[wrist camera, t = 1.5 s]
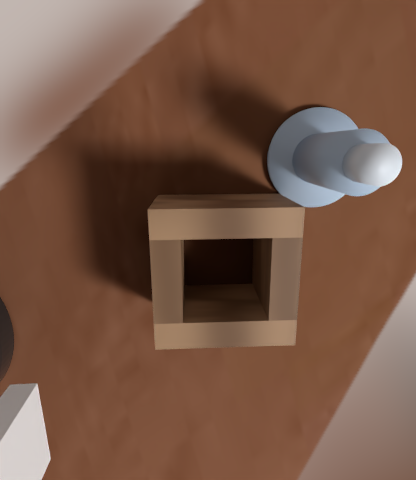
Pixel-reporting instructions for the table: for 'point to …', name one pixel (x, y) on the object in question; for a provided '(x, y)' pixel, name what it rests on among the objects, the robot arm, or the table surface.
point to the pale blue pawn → (329, 158)
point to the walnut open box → (226, 295)
